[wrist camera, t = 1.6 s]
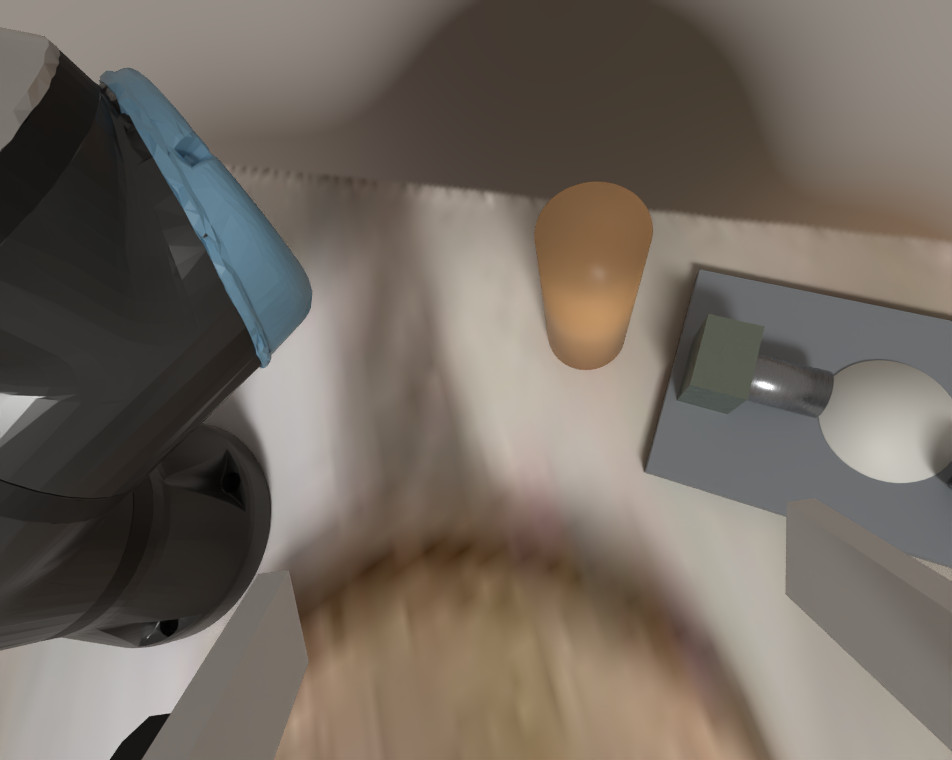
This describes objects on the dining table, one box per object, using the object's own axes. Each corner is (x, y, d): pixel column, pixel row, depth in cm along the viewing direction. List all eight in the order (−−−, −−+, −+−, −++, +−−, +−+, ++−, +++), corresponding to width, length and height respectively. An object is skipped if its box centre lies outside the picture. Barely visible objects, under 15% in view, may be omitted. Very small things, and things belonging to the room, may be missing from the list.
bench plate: (644, 472, 32) (646, 470, 31) (696, 276, 35) (700, 268, 34) (1073, 606, 26) (1093, 609, 25) (1094, 359, 29) (1113, 353, 28)
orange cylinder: (538, 358, 35) (520, 269, 23) (560, 292, 36) (553, 173, 24) (613, 378, 34) (635, 295, 22) (633, 309, 35) (665, 192, 23)
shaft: (677, 400, 32) (690, 384, 28) (693, 337, 33) (708, 313, 29) (803, 435, 30) (834, 422, 26) (817, 366, 31) (849, 345, 27)
